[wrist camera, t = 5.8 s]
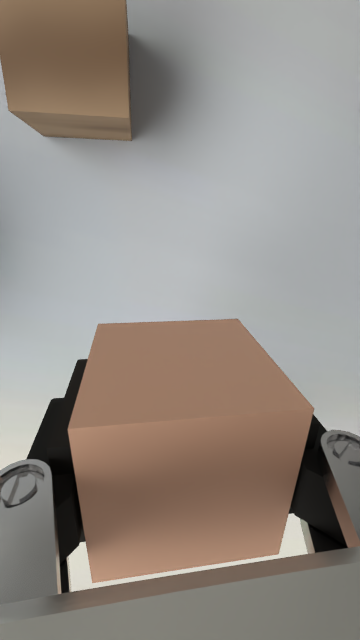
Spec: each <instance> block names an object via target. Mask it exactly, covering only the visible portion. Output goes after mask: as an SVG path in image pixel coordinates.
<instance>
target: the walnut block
mask: <svg viewBox="0 0 360 640" xmlns="http://www.w3.org/2000/svg"><path fill="white" fill-rule="evenodd" d="M0 59H1V65H2V72H3V78H4V84H5V90H6V97H7V103H8V109H9V111H10V112H11V113H13V114H14V115H16V116H17V117H18V118H20V119H21V120H22V121H24V122H25V123H26V124H28V125H29V126H31V127H32V128H33V129H35V130H36V131H37V132H39V133H40V134H41V135H43V136H48V137H67V138H86V139H105V140H123V141H132V135H131V104H130V73H129V41H128V21H127V5H126V0H0Z"/></svg>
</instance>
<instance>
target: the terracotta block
mask: <svg viewBox="0 0 360 640" xmlns="http://www.w3.org/2000/svg"><path fill="white" fill-rule="evenodd" d="M313 412H314V408H313V407H312V405H311V404H310V403H309V402H308V401H307V400H306V398H305V397H304V396H303V395H302V394H301V392H300V391H299V390H298V389H297V388H296V387H295V385H294V384H293V383H292V382H291V381H290V380H289V378H288V377H287V376H286V375H285V374H284V373H283V371H282V370H281V369H280V368H279V367H278V365H277V364H276V363H275V362H274V361H273V360H272V358H271V357H270V356H269V355H268V354H267V353H266V351H265V350H264V349H263V348H262V347H261V346H260V344H259V343H258V342H257V341H256V340H255V338H254V337H253V336H252V335H251V334H250V333H249V331H248V330H247V329H246V328H245V327H244V326H243V324H242V323H241V322H240V321H239V320H238V319H224V320H195V321H167V322H138V323H110V324H98V326H97V330H96V333H95V336H94V340H93V343H92V347H91V350H90V354H89V357H88V361H87V364H86V367H85V371H84V374H83V378H82V381H81V385H80V388H79V392H78V395H77V398H76V402H75V405H74V409H73V412H72V416H71V419H70V423H69V426H68V434H69V441H70V447H71V453H72V459H73V466H74V472H75V478H76V484H77V490H78V497H79V503H80V509H81V515H82V521H83V528H84V534H85V540H86V546H87V552H88V559H89V565H90V571H91V577H92V583H96V582H103V581H109V580H115V579H122V578H128V577H135V576H141V575H148V574H154V573H161V572H167V571H173V570H180V569H186V568H193V567H199V566H206V565H212V564H219V563H225V562H231V561H238V560H244V559H251V558H257V557H264V556H270V555H277V554H279V550H280V546H281V542H282V538H283V534H284V530H285V526H286V522H287V518H288V513H289V509H290V505H291V501H292V497H293V493H294V489H295V485H296V481H297V477H298V473H299V469H300V465H301V461H302V457H303V452H304V448H305V444H306V440H307V436H308V432H309V428H310V424H311V420H312V416H313Z"/></svg>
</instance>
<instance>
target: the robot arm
mask: <svg viewBox="0 0 360 640" xmlns="http://www.w3.org/2000/svg"><path fill="white" fill-rule="evenodd" d="M87 361H88V359H81V360H78V361H77V363H76V366H75V369H74V372H73V374H72V377H71V380H70V383H69V386H68V389H67V391H66V394H65V397H64V398H54V399H52V400H51V402H50V404H49V406H48V409H47V411H46V413H45V416H44V418H43V421H42V423H41V425H40V428H39V430H38V433H37V435H36V437H35V440H34V442H33V445H32V447H31V450H30V452H29V454H28V457H27V459H26V460H22V461H18V462H15V463H13V464H10V465H8V466H7V467H5V468H4V469H2V470H0V640H360V437H359V436H357V435H355V434H352V433H350V432H346V431H341V430H331V431H328V432H327V430H326V429H325V428H324V427H323V426H322V424H321V423H320V422H319V421H318V420H317V418H316V417H315V416H314V415H313V416H312V420H311V424H310V428H309V432H308V436H307V440H306V444H305V448H304V452H303V457H302V461H301V465H300V469H299V473H298V477H297V481H296V485H295V489H294V493H293V497H292V501H291V505H290V509H289V513H288V514H291V513H294V514H295V516H297V517H299V518H300V521H301V527H302V531H303V535H304V539H305V544H306V548H307V552H308V554H305V555H299V556H292V557H286V558H280V559H273V560H267V561H260V562H254V563H248V564H241V565H235V566H229V567H222V568H216V569H210V570H204V571H197V572H191V573H185V574H178V575H172V576H166V577H160V578H154V579H148V580H142V581H135V582H129V583H123V584H117V585H111V586H105V587H99V588H93V589H87V590H81V591H74V592H71V581H70V569H69V558H68V556H69V555H70V554H71V553H72V552H73V551H74V550H75V549H76V548H77V547H78V546H79V543H80V542H85V541H86V540H85V534H84V528H83V521H82V515H81V509H80V503H79V497H78V490H77V484H76V478H75V472H74V466H73V459H72V453H71V447H70V441H69V434H68V426H69V423H70V419H71V416H72V412H73V409H74V405H75V402H76V398H77V395H78V392H79V388H80V385H81V381H82V378H83V374H84V371H85V367H86V364H87Z"/></svg>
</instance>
